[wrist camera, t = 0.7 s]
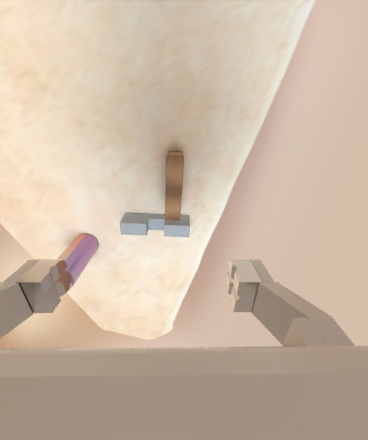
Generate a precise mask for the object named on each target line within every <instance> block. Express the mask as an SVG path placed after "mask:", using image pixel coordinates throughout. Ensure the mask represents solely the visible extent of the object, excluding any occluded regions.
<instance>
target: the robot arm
mask: <svg viewBox="0 0 368 440" xmlns="http://www.w3.org/2000/svg"><path fill="white" fill-rule="evenodd" d="M66 268H67V264H66V261H64V260H49V259H42V260H41V259H32V260H29V261H27V262H26V263H25V264H24V265H23V266H21V267H20V268H19V269H18V270H17V271H16V272H14V273H13V274H12V275H11V276H10V277H9V278H7V279H6V280H5V281H4V282H3V283H0V338H1V337H3V336H5V335H6V334H7V333H9V332H10V331H11V330H13V329H14V328H15V327H17V326H18V325H19V324H21V323H22V322H23V321H25V320H26V319H27V318H29V317H30V316H31V315H33V313H52V312H53V311H54V310H55V308H56V307H57V305H58V304H59V302H60V301H61V300H60V297H61V296H62V295H64V294H65V293H66V292H67V291H68V289H69V287H70V284H71V276H70V273H68V272H67V271H66ZM228 269H229V272H228V273H227V276H226V285H227V290H228V293H229V294H230V295H231V299H230V300H231V304H232V307H233V311H234V312H252V314H253V315H254V316H255V317H256V318H257V319H258V320H259V321H260V322H261V323H262V324H263V325H264V326H265V327H266V328H267V329H268V330H269V331H270V332H271V333H272V335H273V336H274V337H275V338H276V339H278V341H279V342H280V343H281V344H282V345H283V346H282V347H175V348H174V347H170V348H169V347H162V348H41V349H40V348H38V349H0V440H368V346H355V345H354V344H353V342H352V341H351V340H350V339H349V338H348V336H347V335H346V334H345V333H344V331H343V330H342V329H341V328H340V326H339V325H338V324H337V323H336V321H335V320H334V319H333V318H332V317H331V316H330V315H328V314H327V313H325V312H324V311H322V310H320V309H319V308H317V307H316V306H314V305H312V304H311V303H309V302H308V301H306V300H305V299H303V298H301V297H300V296H298V295H297V294H295V293H293V292H292V291H290V290H289V289H287V288H285V287H284V286H282V285H281V284H279V283H278V282H277V283H275V282H274V281H273V279H272V278H271V276H270V275H269V273H268V271H267V270H266V268H265V267H264V265H263V263H262V262H261V260H229V262H228Z"/></svg>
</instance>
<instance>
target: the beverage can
mask: <svg viewBox="0 0 368 440" xmlns="http://www.w3.org/2000/svg"><path fill="white" fill-rule="evenodd" d="M97 248H98V242H97V240H96V239H95V238H94V237H93V236H91V235H88V234H83V235H79V236H78V237H77V238H76V239H75V240H74V241H73V242H72V243H71V244H70V246H69V247H68V248H67V249H66V250H65V251H64V252H63V253H62V254H61V255H60V257H59V258H58V259H57V260H64V261H66V264H67V268H66V271H67V272H68V273H70V276H71V284H70V287H69V289H70V288H71V287H72V286H73V285H74V283H75V282H76V280H77V279H78V277H79V276H80V274H81V273H82V271H83V270H84V268H85V267H86V265H87V264H88V262H89V261H90V259H91V258H92V256H93V255H94V253H95V252H96V250H97ZM69 289H68V290H69Z"/></svg>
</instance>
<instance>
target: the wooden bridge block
mask: <svg viewBox="0 0 368 440" xmlns="http://www.w3.org/2000/svg"><path fill="white" fill-rule="evenodd" d="M183 162H184V158H183V152H179V151H169V153H168V155H167V158H166V202H165V220H175V221H180V213H181V196H182V179H183Z"/></svg>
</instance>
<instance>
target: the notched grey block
mask: <svg viewBox="0 0 368 440" xmlns="http://www.w3.org/2000/svg"><path fill="white" fill-rule="evenodd" d="M120 229H121V234H126V235H147V232H148V230H164V236H174V237H189V232H190V221H189V216H185V215H180V221H175V220H165V215H164V214H142V213H126V214H125V215H124V217H123V219H122V220H121V222H120Z"/></svg>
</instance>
